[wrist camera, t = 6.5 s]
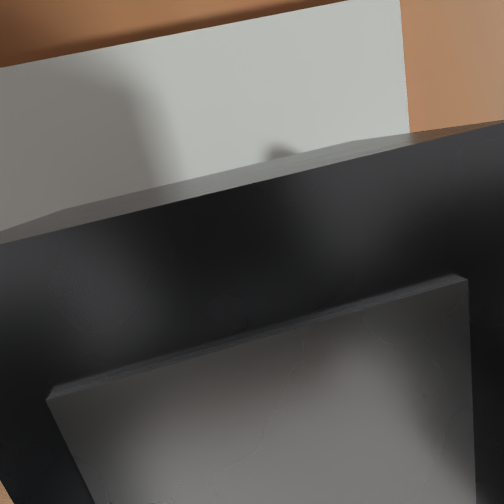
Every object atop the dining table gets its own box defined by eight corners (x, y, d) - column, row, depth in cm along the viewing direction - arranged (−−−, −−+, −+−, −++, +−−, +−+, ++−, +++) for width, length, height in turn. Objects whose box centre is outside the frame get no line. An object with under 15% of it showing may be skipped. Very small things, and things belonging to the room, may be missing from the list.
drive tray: (382, 4, 12) (441, -47, 9) (419, 411, 17) (464, 462, 14) (-67, 92, 10) (-166, 67, 8) (123, 507, 16) (107, 584, 13)
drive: (351, 140, 7) (538, 116, 3) (395, 486, 10) (524, 696, 6) (64, 209, 7) (-132, 277, 3) (198, 553, 9) (199, 832, 6)
